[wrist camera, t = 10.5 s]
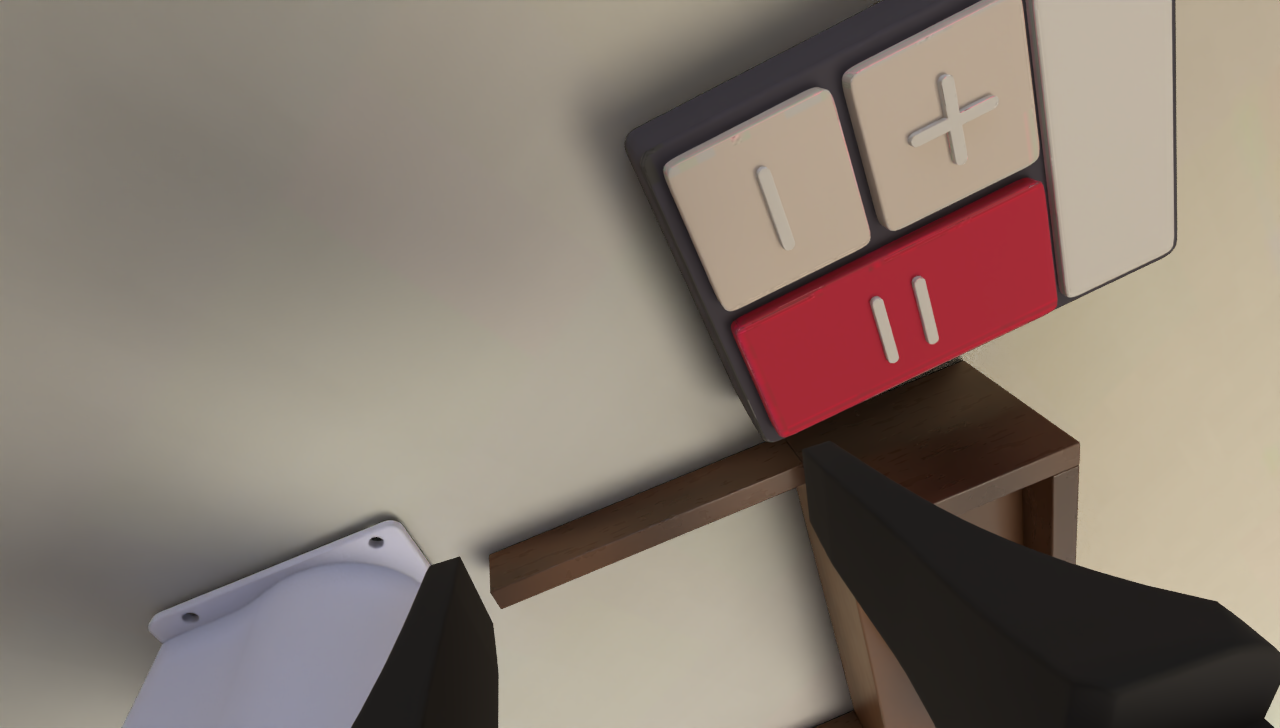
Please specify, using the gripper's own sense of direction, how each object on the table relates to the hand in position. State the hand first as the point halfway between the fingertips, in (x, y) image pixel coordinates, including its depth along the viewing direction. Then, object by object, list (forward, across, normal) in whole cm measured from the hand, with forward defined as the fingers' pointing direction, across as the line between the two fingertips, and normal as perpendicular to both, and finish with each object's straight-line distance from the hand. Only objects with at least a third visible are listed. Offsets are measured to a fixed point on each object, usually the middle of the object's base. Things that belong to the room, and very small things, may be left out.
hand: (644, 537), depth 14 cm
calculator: (+11, -11, -2) cm, 16 cm away
